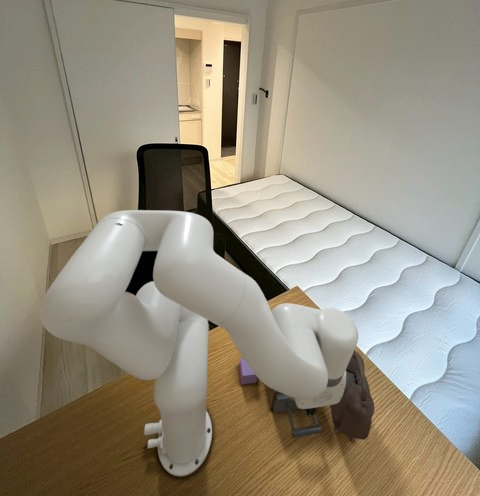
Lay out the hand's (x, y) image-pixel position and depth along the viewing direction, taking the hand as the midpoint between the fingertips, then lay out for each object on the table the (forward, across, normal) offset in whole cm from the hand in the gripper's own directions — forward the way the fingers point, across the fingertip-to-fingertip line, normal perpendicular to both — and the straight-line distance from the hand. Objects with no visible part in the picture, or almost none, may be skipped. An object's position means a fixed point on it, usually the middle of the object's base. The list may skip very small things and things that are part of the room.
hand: (307, 407), depth 57 cm
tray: (+9, 0, +7) cm, 11 cm away
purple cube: (+10, -12, +13) cm, 20 cm away
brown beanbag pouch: (+10, +12, +2) cm, 16 cm away
